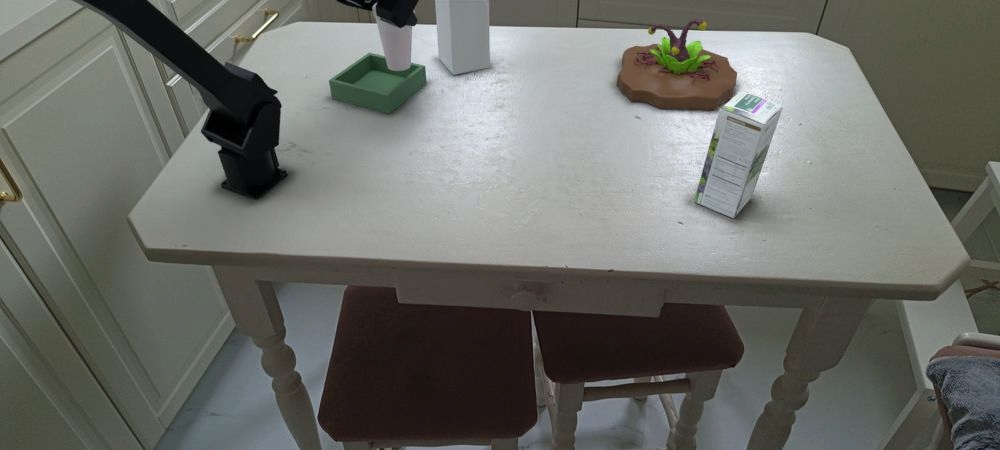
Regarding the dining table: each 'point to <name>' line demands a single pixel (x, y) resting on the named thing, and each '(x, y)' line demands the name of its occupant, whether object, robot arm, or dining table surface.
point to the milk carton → (463, 34)
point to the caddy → (377, 83)
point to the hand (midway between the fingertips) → (401, 17)
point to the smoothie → (395, 43)
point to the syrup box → (737, 153)
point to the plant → (676, 73)
